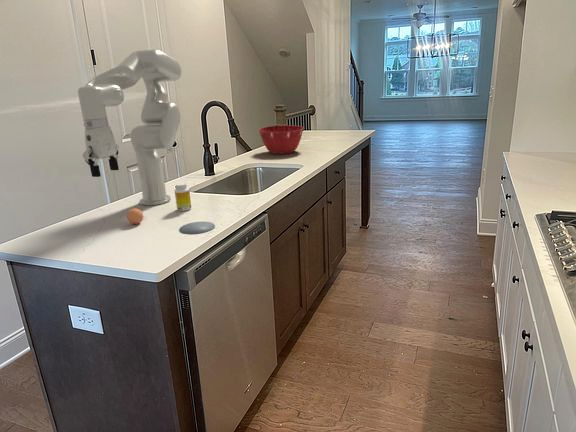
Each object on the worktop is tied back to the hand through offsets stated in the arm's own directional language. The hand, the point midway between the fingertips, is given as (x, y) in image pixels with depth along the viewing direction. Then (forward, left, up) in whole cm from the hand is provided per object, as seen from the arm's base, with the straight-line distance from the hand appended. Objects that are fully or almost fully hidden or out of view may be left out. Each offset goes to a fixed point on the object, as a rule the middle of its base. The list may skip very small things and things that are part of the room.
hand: (105, 173), depth 155 cm
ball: (+2, +8, -16) cm, 18 cm away
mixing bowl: (-126, +63, -19) cm, 142 cm away
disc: (+11, +32, -19) cm, 39 cm away
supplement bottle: (-12, +23, -19) cm, 32 cm away
